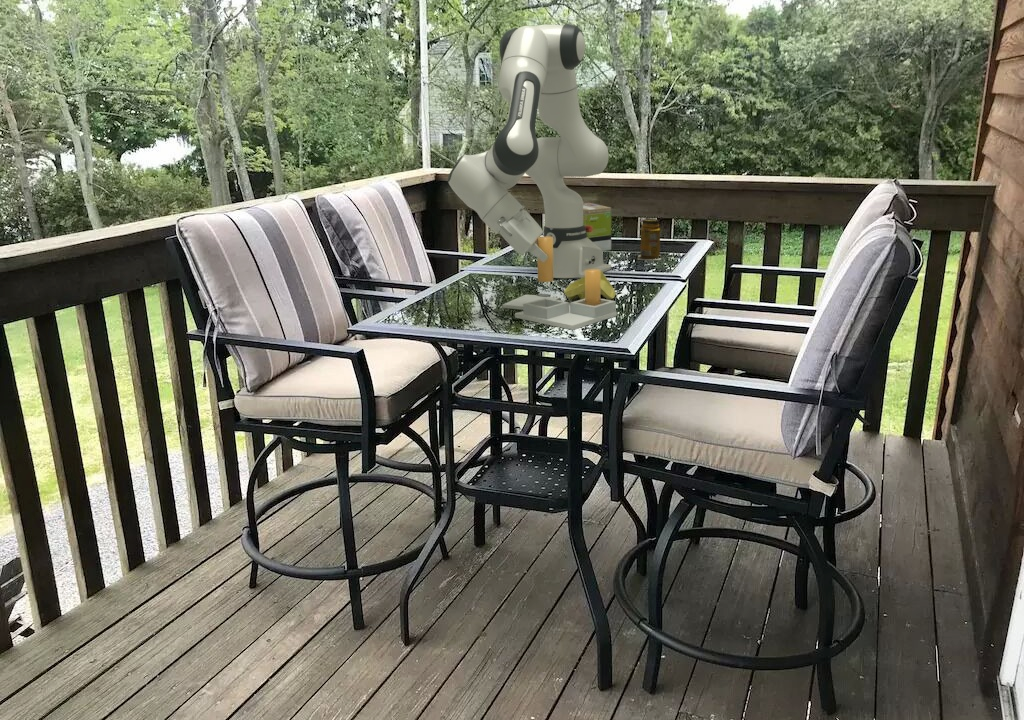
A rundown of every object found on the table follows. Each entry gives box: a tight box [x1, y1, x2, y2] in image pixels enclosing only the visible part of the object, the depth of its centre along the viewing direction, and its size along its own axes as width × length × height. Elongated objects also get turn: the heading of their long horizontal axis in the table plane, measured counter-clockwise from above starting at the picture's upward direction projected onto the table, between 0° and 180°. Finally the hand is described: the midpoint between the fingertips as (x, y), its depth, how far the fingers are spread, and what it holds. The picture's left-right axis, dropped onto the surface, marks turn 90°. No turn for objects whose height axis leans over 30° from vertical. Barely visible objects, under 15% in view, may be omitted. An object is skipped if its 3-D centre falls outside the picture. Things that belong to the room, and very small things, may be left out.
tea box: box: [583, 202, 612, 252], centre depth 278 cm, size 15×10×15 cm, turn 25°
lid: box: [501, 293, 561, 311], centre depth 206 cm, size 14×10×1 cm
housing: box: [514, 269, 618, 331], centre depth 191 cm, size 16×18×11 cm
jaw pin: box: [536, 235, 554, 283], centre depth 189 cm, size 4×4×10 cm
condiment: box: [637, 218, 662, 261], centre depth 258 cm, size 7×8×12 cm
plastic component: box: [563, 271, 617, 301], centre depth 207 cm, size 20×7×10 cm
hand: (547, 257), depth 188 cm, fingers closed on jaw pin, 4 cm apart
